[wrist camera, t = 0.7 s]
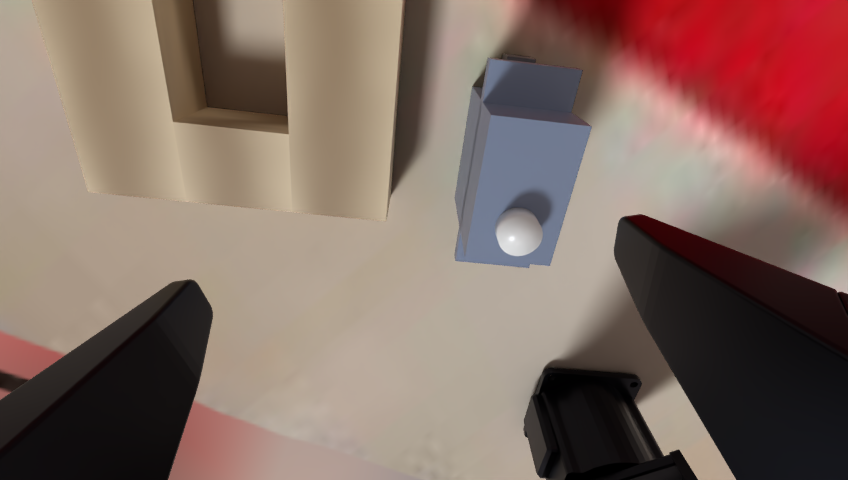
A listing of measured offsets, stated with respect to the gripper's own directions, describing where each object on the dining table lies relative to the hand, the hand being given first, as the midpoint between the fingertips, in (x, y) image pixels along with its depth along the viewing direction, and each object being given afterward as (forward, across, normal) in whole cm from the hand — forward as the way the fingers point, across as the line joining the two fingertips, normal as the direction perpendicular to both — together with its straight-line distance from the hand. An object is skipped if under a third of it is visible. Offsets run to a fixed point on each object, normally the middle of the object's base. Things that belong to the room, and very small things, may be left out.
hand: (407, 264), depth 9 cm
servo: (+12, -4, +3) cm, 13 cm away
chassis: (+13, +6, -4) cm, 15 cm away
